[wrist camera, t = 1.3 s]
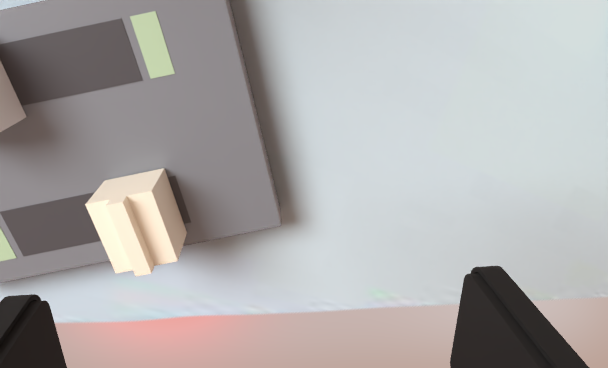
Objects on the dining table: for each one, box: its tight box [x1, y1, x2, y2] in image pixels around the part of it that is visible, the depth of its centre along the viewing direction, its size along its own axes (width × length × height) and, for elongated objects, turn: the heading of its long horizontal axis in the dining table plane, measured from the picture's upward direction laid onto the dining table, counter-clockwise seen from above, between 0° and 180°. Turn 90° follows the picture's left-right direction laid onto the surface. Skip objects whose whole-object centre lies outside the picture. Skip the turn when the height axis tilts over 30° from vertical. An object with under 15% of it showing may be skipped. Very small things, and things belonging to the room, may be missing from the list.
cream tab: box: [85, 168, 187, 276], centre depth 29 cm, size 4×5×4 cm
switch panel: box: [0, 0, 281, 283], centre depth 30 cm, size 24×17×2 cm
